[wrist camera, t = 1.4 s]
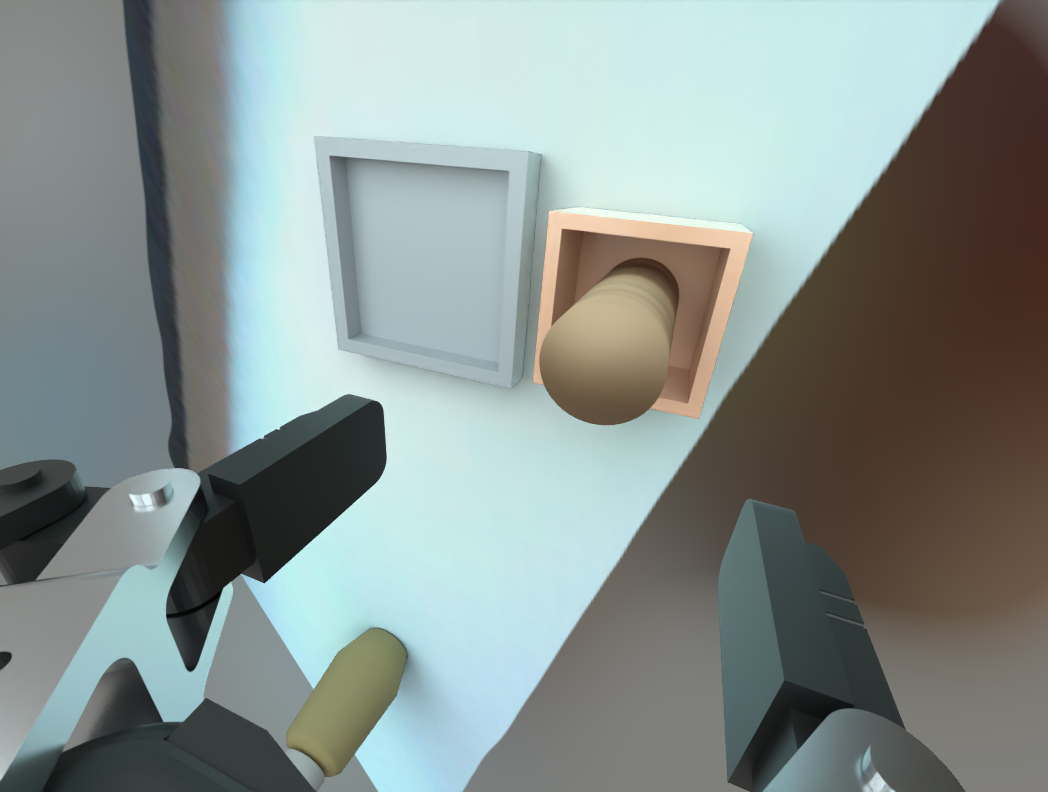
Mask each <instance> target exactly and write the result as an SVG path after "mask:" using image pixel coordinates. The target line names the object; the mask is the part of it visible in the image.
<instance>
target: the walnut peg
mask: <svg viewBox="0 0 1048 792" xmlns="http://www.w3.org/2000/svg"><path fill="white" fill-rule="evenodd" d="M678 302H679V288H678V284H677V281H676V279H675V277H674V275H673V274H672V272H671V271H670V270H669V269H668V268H667V267H666V266H665V265H663V264H662V263H660V262H658V261H656V260H653V259H649V258H633V259H629V260H626V261H624V262H622V263H620V264H618V265H617V266H615V267H614V268H613V269H612V270H611V271H610V272H609V273H608V274H607V275H606V276H604V277H603V278H602V279H601V280H600V281H599V282H598V283H597V284H596V285H595V286H594V287H593V288H592V289H590V290H589V291H588V292H587V293H586V294H585V295H584V296H583V297H582V298H581V299H580V300H579V301H578V302H577V303H575V304H574V305H573V306H572V307H571V308H570V309H569V310H568V311H567V312H566V313H565V314H564V315H563V316H561V317H560V318H559V319H558V320H557V321H556V322H555V323H554V324H553V326H552V327H551V328H550V329H549V331H548V332H547V334H546V336H545V338H544V340H543V343H542V346H541V350H540V356H539V366H540V373H541V378H542V381H543V383H544V386H545V388H546V390H547V392H548V393H549V395H550V396H551V398H552V399H553V400H554V401H555V402H556V404H557V405H558V406H560V407H561V408H562V409H563V410H564V411H566V412H567V413H568V414H570V415H572V416H573V417H575V418H577V419H580V420H582V421H585V422H588V423H592V424H598V425H615V424H621V423H625V422H628V421H631V420H633V419H635V418H637V417H639V416H640V415H642V414H644V413H645V412H646V411H647V410H648V409H650V408H651V406H652V405H653V404H654V403H655V402H656V400H657V399H658V398H659V396H660V394H661V392H662V390H663V387H664V384H665V381H666V375H667V369H668V363H669V357H670V351H671V345H672V339H673V333H674V326H675V320H676V314H677V308H678Z"/></svg>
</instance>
